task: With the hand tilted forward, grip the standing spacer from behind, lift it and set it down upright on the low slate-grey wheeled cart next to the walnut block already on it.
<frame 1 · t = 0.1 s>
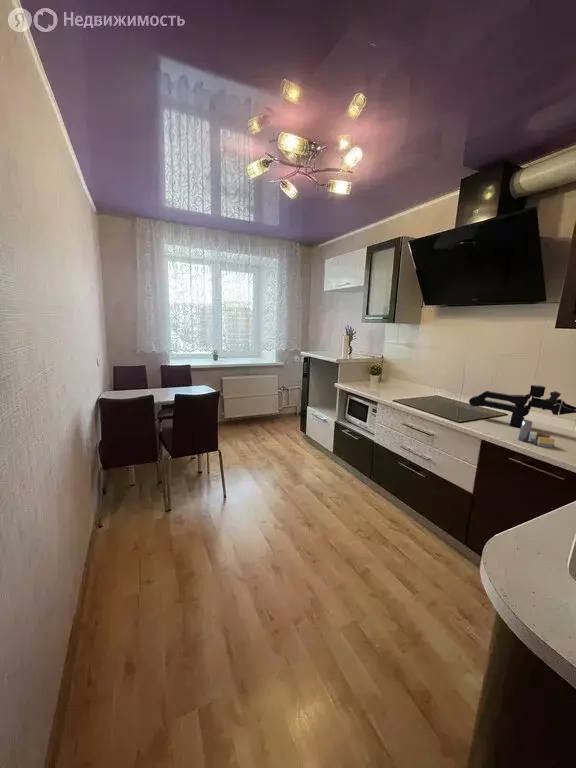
cart: (537, 441, 170), on the countertop
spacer: (523, 440, 171), on the countertop
collected block: (541, 440, 167), point 2 cm above the countertop, touching cart
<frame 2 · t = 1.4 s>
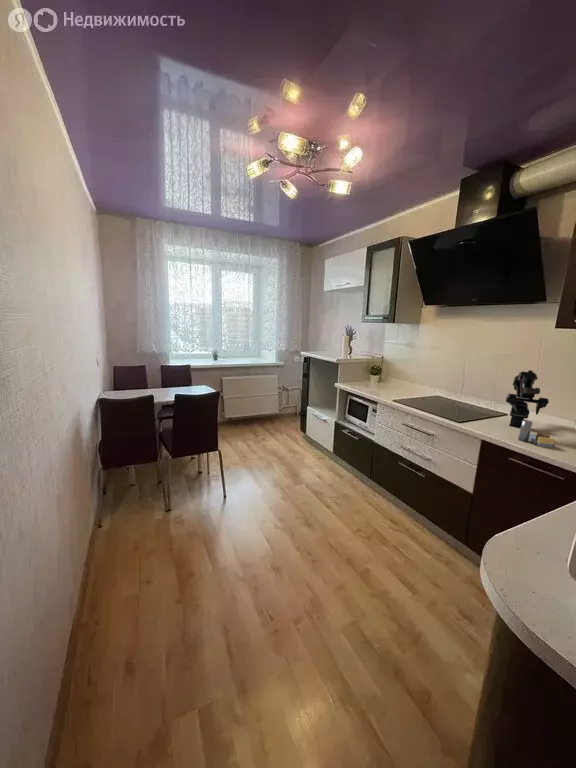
hand: (526, 413, 175), 14 cm above the countertop, tool tilted 45°, fingers open, 9 cm apart
nothing on the countertop moved.
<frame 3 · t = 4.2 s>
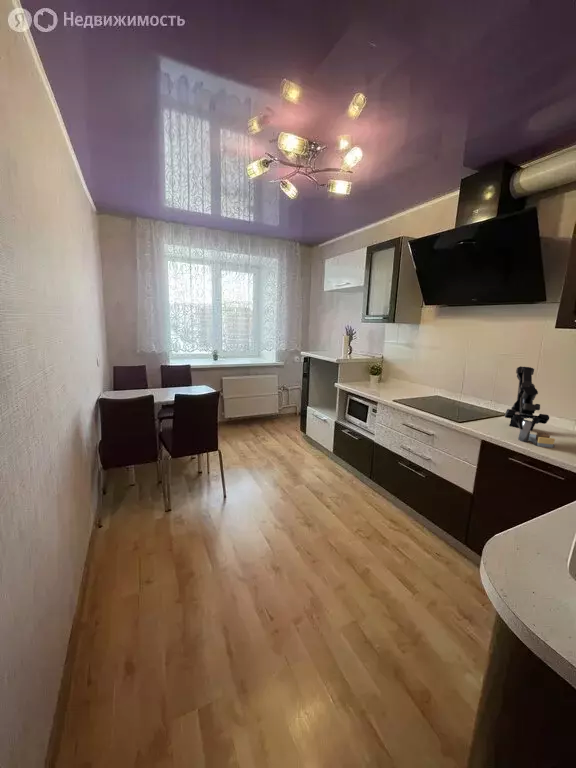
hand: (526, 429, 169), 7 cm above the countertop, tool tilted 45°, fingers closed on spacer, 4 cm apart
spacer: (523, 440, 171), on the countertop, touching gripper
everything else where it was.
when the fingers open (9 cm above the countertop, at t = 8.4 s): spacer drops 1 cm, resting on cart.
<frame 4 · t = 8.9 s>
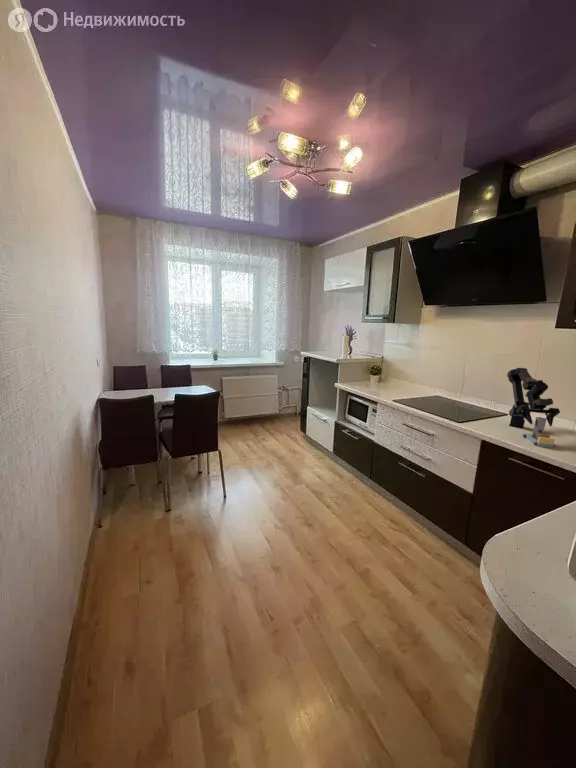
hand: (541, 425, 168), 10 cm above the countertop, tool tilted 45°, fingers open, 9 cm apart
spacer: (536, 437, 171), point 2 cm above the countertop, touching cart
everything else where it was.
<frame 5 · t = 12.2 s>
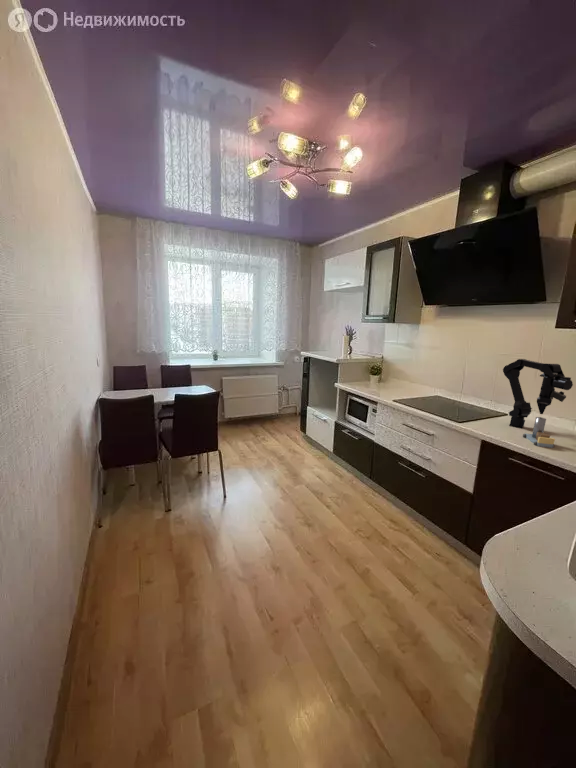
hand: (542, 412, 180), 13 cm above the countertop, tool pointing down, fingers open, 9 cm apart
nothing on the countertop moved.
at the end: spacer 1.6 cm from the cart (horizontally); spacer point 1.8 cm above the countertop; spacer tilted 1° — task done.
